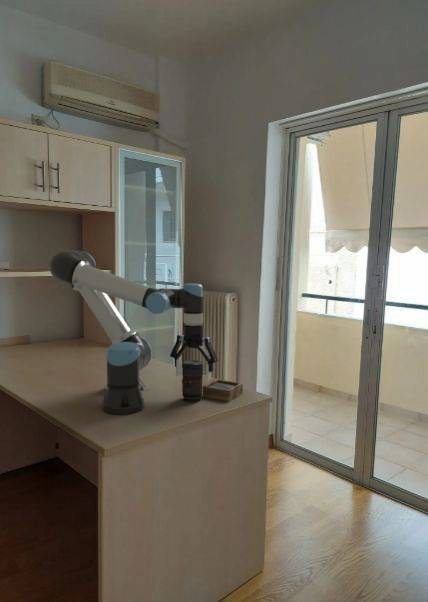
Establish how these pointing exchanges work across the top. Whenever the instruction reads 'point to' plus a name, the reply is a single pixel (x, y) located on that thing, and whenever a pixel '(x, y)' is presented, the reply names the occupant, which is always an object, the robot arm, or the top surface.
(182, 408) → the top surface
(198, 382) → the camera lens
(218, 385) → the square wooden tray
